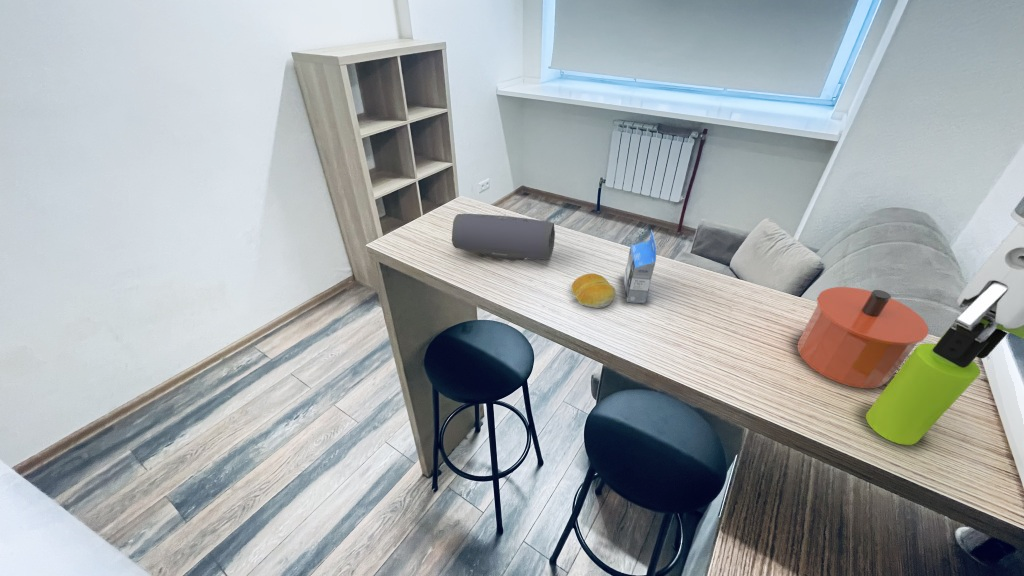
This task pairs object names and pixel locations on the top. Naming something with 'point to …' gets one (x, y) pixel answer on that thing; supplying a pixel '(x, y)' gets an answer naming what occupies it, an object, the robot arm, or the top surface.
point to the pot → (848, 354)
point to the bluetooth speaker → (503, 236)
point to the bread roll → (593, 291)
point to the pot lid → (872, 315)
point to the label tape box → (640, 270)
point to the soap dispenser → (922, 393)
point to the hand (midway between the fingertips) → (958, 353)
